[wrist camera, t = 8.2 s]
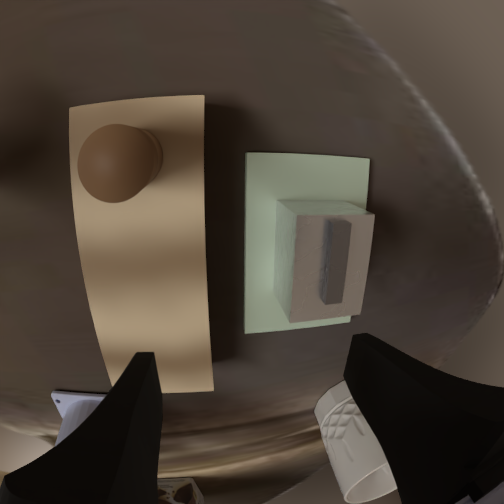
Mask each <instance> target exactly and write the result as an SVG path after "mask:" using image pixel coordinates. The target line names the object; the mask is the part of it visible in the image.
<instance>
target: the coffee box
mask: <svg viewBox="0 0 504 504" xmlns="http://www.w3.org/2000/svg"><path fill="white" fill-rule="evenodd" d="M157 485H158V503H159V504H204V497H203V495H202V493H201V492H200V490H199V488H198V487H197V485H196V483H195V481H194V480H193V478H190V477H187V478H173V479H157Z"/></svg>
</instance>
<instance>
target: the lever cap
mask: <svg viewBox="0 0 504 504" xmlns="http://www.w3.org/2000/svg"><path fill="white" fill-rule="evenodd" d="M374 218H375V214H373V213H370V212H368V211H366V210H364V209H362V208H359V207H357V206H355V205H353V204H351V203H348V202H346V201H344V200H276V224H275V254H274V280H273V292H274V294H275V296H276V298H277V300H278V302H279V304H280V305H281V307H282V309H283V311H284V313H285V315H286V317H287V319H288V321H289V323H297V322H305V321H314V320H322V319H330V318H337V317H345V316H352V315H359V314H360V313H361V308H362V302H363V296H364V291H365V285H366V279H367V272H368V266H369V259H370V251H371V244H372V236H373V227H374Z"/></svg>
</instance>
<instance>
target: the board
mask: <svg viewBox="0 0 504 504" xmlns="http://www.w3.org/2000/svg"><path fill="white" fill-rule="evenodd" d="M369 164H370V159H367V158H357V157H345V156H331V155H315V154H295V153H260V152H245V223H244V332H245V334H247V333H259V332H270V331H280V330H290V329H299V328H308V327H316V326H324V325H332V324H339V323H346V322H350V318H351V316H345V317H337V318H330V319H322V320H314V321H305V322H297V323H289V321H288V319H287V317H286V315H285V313H284V311H283V309H282V307H281V305H280V304H279V302H278V300H277V298H276V296H275V294H274V292H273V280H274V254H275V224H276V200H344V201H346V202H348V203H351V204H353V205H355V206H357V207H359V208H362V209H364V210H366V203H367V192H368V179H369Z"/></svg>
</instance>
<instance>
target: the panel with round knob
mask: <svg viewBox="0 0 504 504" xmlns="http://www.w3.org/2000/svg"><path fill="white" fill-rule="evenodd" d="M69 149H70V172H71V186H72V198H73V208H74V217H75V225H76V233H77V240H78V247H79V253H80V259H81V265H82V271H83V276H84V281H85V286H86V291H87V296H88V300H89V305H90V309H91V313H92V318H93V322H94V326H95V330H96V333H97V337H98V341H99V344H100V348H101V351H102V355H103V358H104V362H105V365H106V368H107V371H108V374H109V377H110V381H111V384H112V387H113V386H114V384H115V383H116V381H117V380H118V379H119V377H120V376H121V374H122V373H123V371H124V370H125V368H126V367H127V365H128V364H129V362H130V361H131V359H132V357H133V356H134V354H135V353H136V352H154V354H155V360H156V365H157V371H158V376H159V381H160V386H161V391H162V393H182V392H203V391H214V386H213V373H212V360H211V346H210V330H209V314H208V295H207V273H206V247H205V210H204V95H189V96H166V97H151V98H139V99H128V100H119V101H111V102H103V103H96V104H89V105H82V106H76V107H71V108H69Z"/></svg>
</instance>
